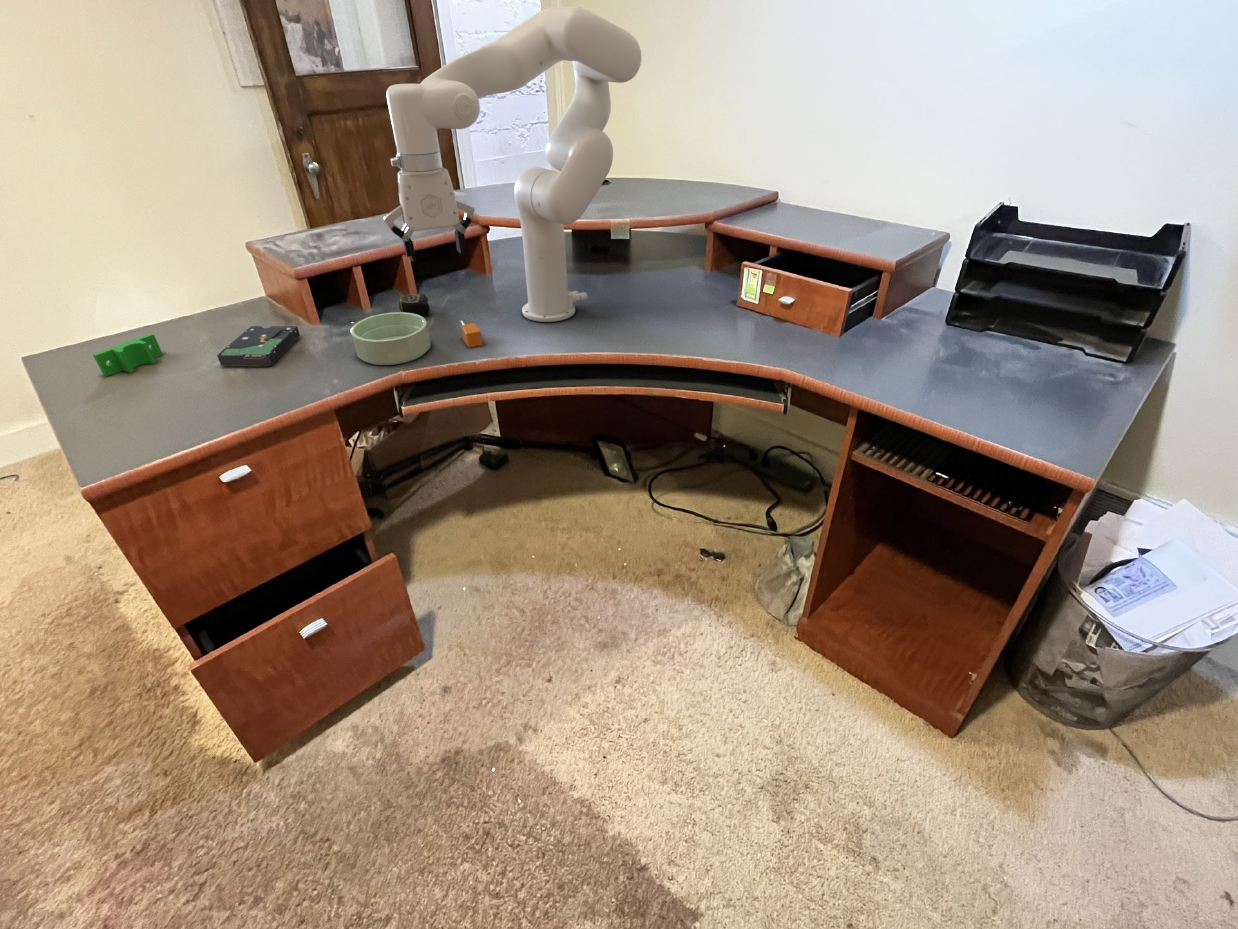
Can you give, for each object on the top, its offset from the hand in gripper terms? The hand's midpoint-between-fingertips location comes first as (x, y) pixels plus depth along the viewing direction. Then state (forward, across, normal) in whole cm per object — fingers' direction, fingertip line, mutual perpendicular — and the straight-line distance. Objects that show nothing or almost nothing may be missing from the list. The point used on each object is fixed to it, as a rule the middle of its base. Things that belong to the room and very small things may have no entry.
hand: (437, 256), depth 124 cm
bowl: (+18, -12, +1) cm, 22 cm away
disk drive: (+18, -37, +14) cm, 44 cm away
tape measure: (+19, -3, +20) cm, 28 cm away
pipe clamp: (+18, -60, +18) cm, 65 cm away
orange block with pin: (+19, +4, +1) cm, 19 cm away
